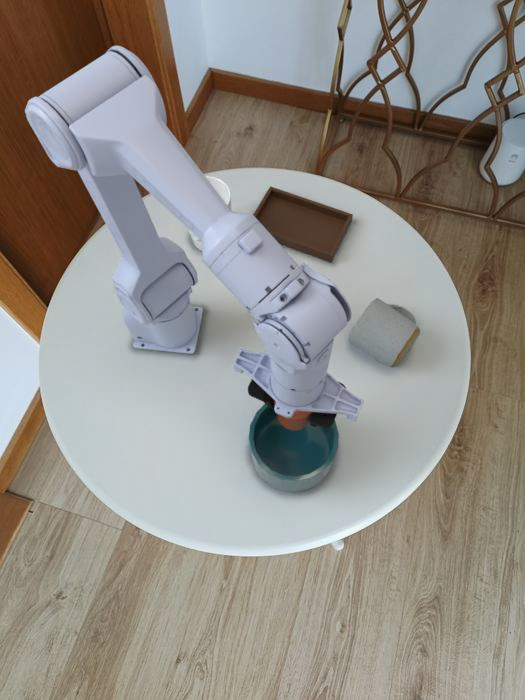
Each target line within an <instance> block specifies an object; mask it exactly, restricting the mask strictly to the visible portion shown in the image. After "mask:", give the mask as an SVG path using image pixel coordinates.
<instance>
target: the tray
mask: <svg viewBox="0 0 525 700" xmlns="http://www.w3.org/2000/svg"><path fill="white" fill-rule="evenodd" d="M252 215H254V216H255V217H256V218H257V220H258V221H259V222H260V223H261V224H262V225H263V226H264V227H265V229H266V230H267V231H268V232H269V233H270V234H271V235H272V236H273V237H274V238H275V239H276V241H277V242H278V243H279V244H280V245H281V246H282V247H283V246H284V247H286V248H289V249H291V250H295V251H297V252H300V253H302V254H305V255H308V256H310V257H314V258H316V259H319V260H323V261H325V262H327V263H330V264H332V263H333V261H334V259H335V257H336V255H337V253H338V251H339V250H340V247H341V245H342V243H343V240H344V238H345V237H346V236H347V235H346V234H347V232H348V231H349V229H350V226H351V224H352V222H353V217H354V214H353V213H351V212H347V211H344V210H341V209H338V208H335V207H332V206H330V205H326V204H324V203H321V202H318V201H315V200H312V199H309V198H306V197H303V196H300V195H297V194H294V193H291V192H289V191H285V190H282V189H280V188H277V187H274V186H271V185H270V186H269V187H268V189H267V191H266V193H265V194H264V196H263V197H262V199H261V200H260V203H259V204H258V205H257V208H256V209H255V211H254V213H253V214H252Z"/></svg>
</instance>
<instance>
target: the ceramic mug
mask: <svg viewBox="0 0 525 700" xmlns="http://www.w3.org/2000/svg"><path fill="white" fill-rule="evenodd" d="M417 324H418V321H417V320H416V317H415V316H414V315H413V314H412V313H411V311H409V310H408V309H407V308H405V307H403V306H401V305H399V304H395V303H389V304H388V303H386V302H385V301H383V300H382V299H380V298H378V297H376V298H374V299H373V300H372V301H371V302H370V303H369V304H368V305H367V306H366V308H365V310H363V312H362V314H361V315H360V316H359V318H358V319H357V321H356V322H355V324H354V326H353V327H352V329H351V331H350V334H349V335H348V338H347V341H348V342H349V344H351V345H353V346H354V347H356V348H357V349H359V350H361V351H363V353H366V354H368V355H369V356H371V357H372V358H374V359H376V360H377V361H378V362H380V363H382V364H383V365H385V366H388V367H390V368H397V367H398V366H399V365H400V363H401V362H402V361H403V359H404V358H405V357H406V355H407V354H408V353H409V351H410V350H411V348H412V347H413V345H414V344H415V342H416V341H417V339H418V338H419V336H420V335H421V329H420V327H419V326H418V325H417Z"/></svg>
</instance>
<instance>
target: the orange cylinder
mask: <svg viewBox="0 0 525 700" xmlns="http://www.w3.org/2000/svg"><path fill="white" fill-rule="evenodd" d="M274 405H276V401H275V400H274ZM312 413H313V412H308V411H295V412H294V414H293V416H292V417H291V418H286V417H284V416H282V415H279V414H277V418H278V420H279V422H280V424H281V425H282V426H283V427H285V428H286V429H289V430H293V431H296V430H301V429H303V428H305V427H306V426H307V425H308V424H309V423H310V422H309V420H310V417H311V415H312Z"/></svg>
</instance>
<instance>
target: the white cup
mask: <svg viewBox="0 0 525 700" xmlns="http://www.w3.org/2000/svg"><path fill="white" fill-rule="evenodd" d="M204 176H205V177H206V178H207V179H208V181H209V182H210V183H211V185H212V186H213V187H214V189H215V190H216V191H217V193H218V194H219V195H220V196H221V198H222V199H223V200H224V202H225V203H226V204H227V206H228V207H229V208H230V209H231V211H233V210H232V194H231V193H232V191H231V189H230V187H229V186H228V184H227V183H226V182H225V181H224V180H223V179H220V178H218V177H215V176H210V175H204ZM187 231H188V233H189V235H190V238H191V241H192V243H193V245H194V247H195V248H197V249H198V250H200V251H201V252H202V242H201V240H200V239H199V238H198V237H197V236H196V235H195V234H194V233H193V232H192V231H190V230H189V229H188V228H187Z"/></svg>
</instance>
